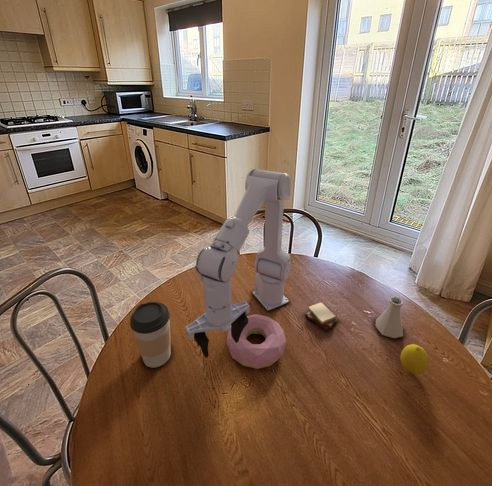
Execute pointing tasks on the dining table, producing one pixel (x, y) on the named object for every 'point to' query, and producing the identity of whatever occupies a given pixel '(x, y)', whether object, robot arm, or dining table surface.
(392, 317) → the flask
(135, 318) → the coffee cup
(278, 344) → the donut
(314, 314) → the letter pile
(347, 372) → the dining table surface
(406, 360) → the lemon
